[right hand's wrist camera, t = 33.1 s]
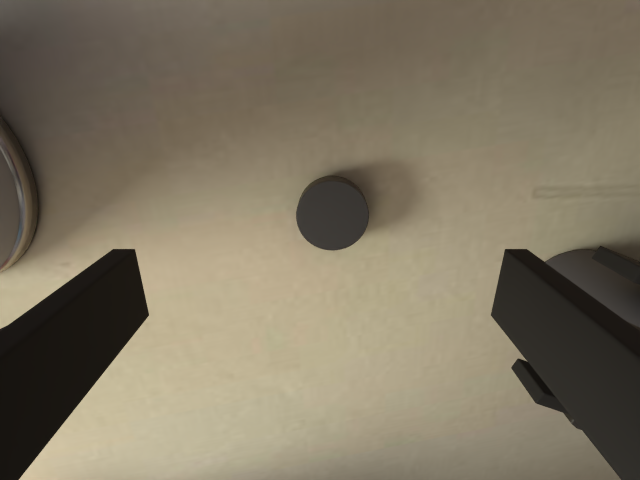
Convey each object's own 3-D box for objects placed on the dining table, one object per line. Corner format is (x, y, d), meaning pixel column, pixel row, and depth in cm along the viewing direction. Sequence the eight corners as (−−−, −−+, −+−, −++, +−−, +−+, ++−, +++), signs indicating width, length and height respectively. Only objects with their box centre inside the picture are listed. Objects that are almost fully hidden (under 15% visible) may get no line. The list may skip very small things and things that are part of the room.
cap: (332, 161, 22) (332, 165, 20) (380, 209, 23) (383, 217, 22) (284, 209, 23) (281, 216, 22) (331, 253, 24) (332, 263, 23)
